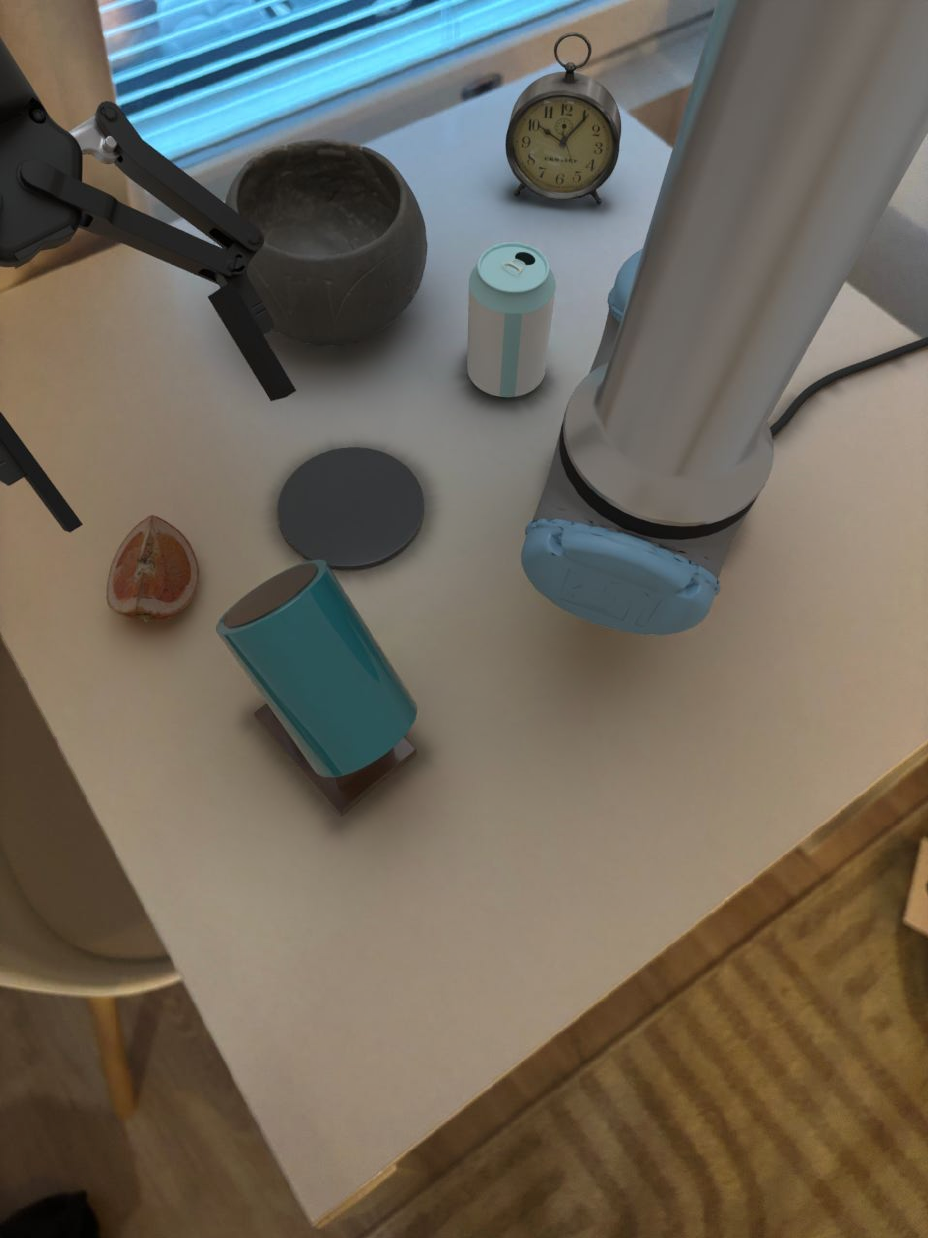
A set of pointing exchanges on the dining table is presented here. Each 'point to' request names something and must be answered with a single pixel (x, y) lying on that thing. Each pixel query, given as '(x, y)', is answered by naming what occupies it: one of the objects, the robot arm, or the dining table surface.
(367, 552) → the coaster
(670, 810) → the dining table surface
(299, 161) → the bowl
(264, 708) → the cradle
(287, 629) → the cup
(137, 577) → the fruit slice
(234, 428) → the dining table surface
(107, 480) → the dining table surface
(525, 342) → the can
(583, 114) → the alarm clock
